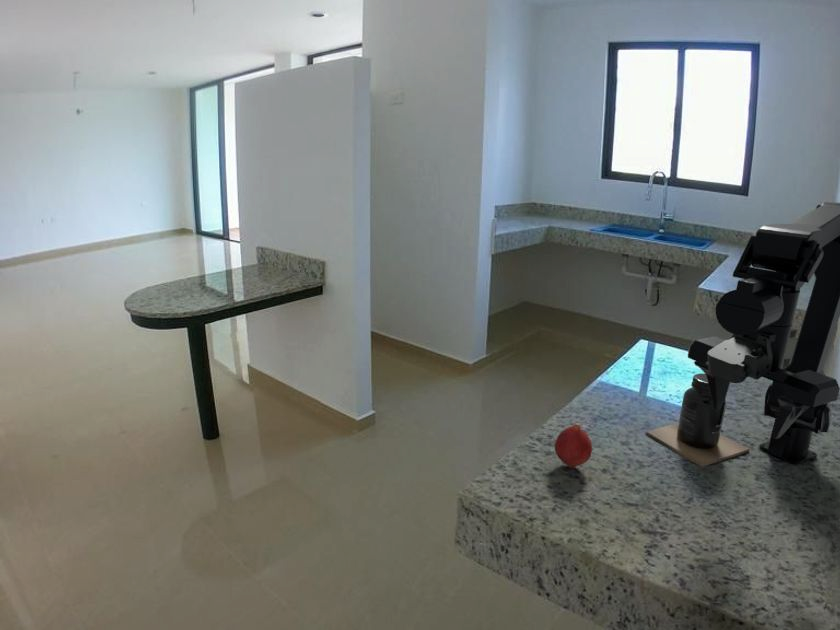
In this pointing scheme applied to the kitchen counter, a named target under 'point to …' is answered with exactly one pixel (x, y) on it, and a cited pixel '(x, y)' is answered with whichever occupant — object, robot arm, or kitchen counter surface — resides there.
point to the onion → (573, 446)
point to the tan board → (697, 455)
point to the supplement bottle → (700, 416)
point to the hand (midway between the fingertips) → (745, 423)
